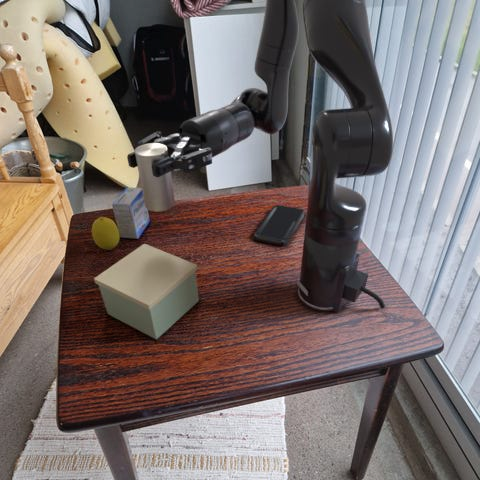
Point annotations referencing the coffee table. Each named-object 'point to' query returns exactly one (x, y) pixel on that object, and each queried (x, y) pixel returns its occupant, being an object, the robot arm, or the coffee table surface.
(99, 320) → the coffee table surface
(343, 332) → the coffee table surface
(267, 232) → the phone
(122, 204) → the medicine box
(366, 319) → the coffee table surface
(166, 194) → the tea tin
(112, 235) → the lemon
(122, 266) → the storage box
